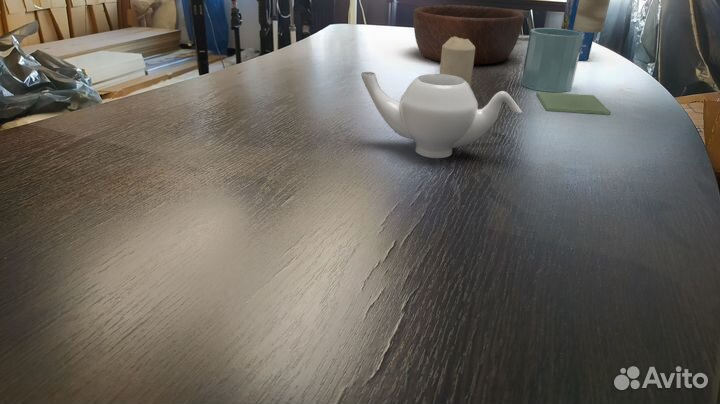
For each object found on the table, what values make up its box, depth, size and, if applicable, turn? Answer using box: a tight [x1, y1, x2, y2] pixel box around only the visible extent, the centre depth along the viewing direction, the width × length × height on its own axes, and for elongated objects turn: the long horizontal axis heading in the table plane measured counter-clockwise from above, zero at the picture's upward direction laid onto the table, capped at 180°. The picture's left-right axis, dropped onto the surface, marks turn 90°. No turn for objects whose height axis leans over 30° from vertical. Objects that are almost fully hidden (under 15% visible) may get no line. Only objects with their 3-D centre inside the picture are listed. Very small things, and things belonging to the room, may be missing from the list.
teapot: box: [360, 71, 523, 159], centre depth 62 cm, size 10×20×9 cm, turn 74°
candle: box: [439, 36, 475, 88], centre depth 86 cm, size 6×6×10 cm
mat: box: [535, 91, 611, 116], centre depth 85 cm, size 10×10×1 cm
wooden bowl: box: [412, 4, 525, 66], centre depth 117 cm, size 25×25×10 cm
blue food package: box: [560, 0, 595, 61], centre depth 118 cm, size 6×12×25 cm, turn 166°
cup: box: [521, 27, 584, 93], centre depth 94 cm, size 9×9×10 cm
